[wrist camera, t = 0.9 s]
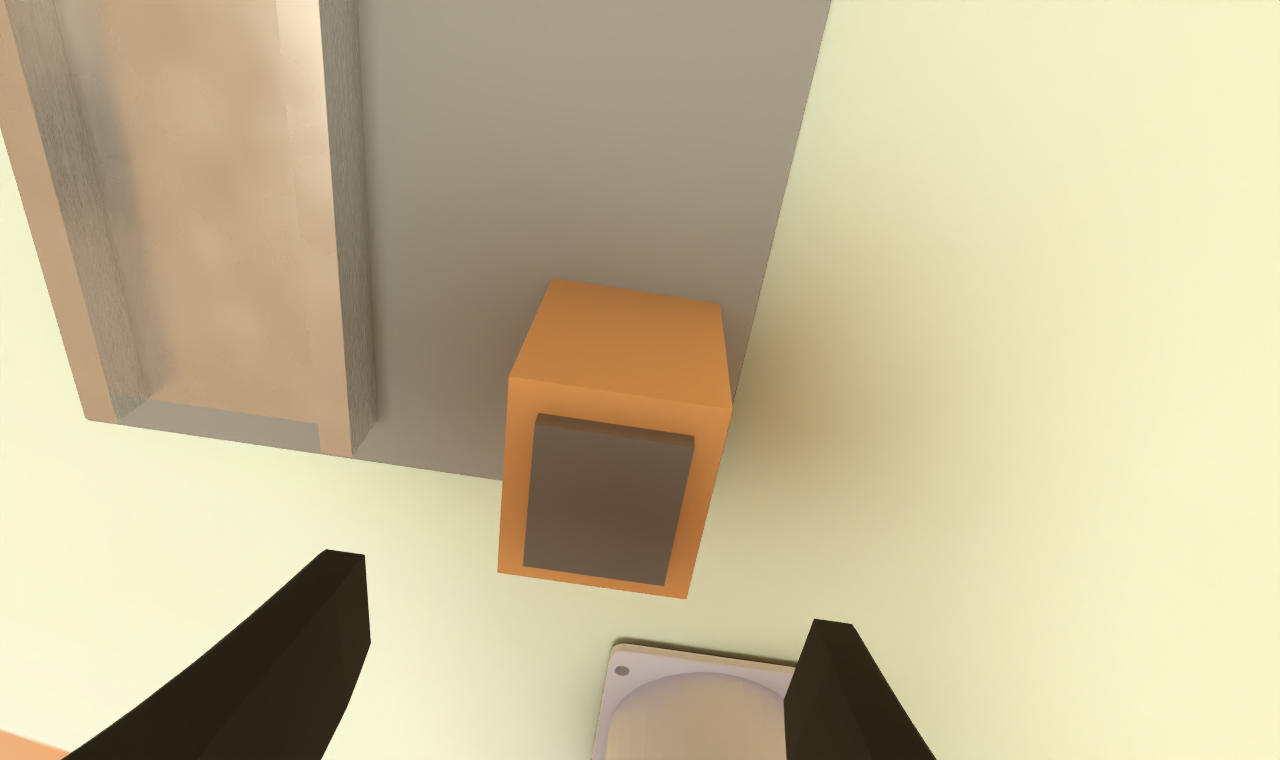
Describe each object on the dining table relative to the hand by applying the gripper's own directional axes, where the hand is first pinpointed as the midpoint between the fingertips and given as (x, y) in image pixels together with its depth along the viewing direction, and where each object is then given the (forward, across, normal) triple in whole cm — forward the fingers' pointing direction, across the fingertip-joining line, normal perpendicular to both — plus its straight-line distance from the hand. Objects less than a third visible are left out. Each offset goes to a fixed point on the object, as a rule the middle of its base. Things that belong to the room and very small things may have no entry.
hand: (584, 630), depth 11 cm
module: (+8, 0, 0) cm, 8 cm away
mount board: (+9, +6, -3) cm, 12 cm away
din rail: (+9, +10, -3) cm, 14 cm away
